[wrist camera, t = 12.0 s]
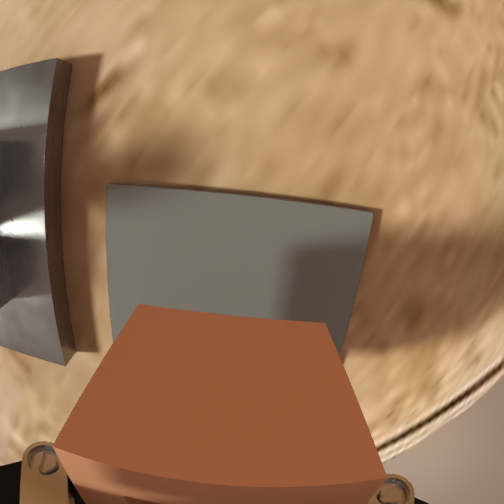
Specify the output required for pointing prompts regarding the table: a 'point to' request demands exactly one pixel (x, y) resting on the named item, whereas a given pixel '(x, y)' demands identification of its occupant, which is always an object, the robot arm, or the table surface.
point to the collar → (219, 416)
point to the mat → (233, 255)
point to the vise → (33, 211)
